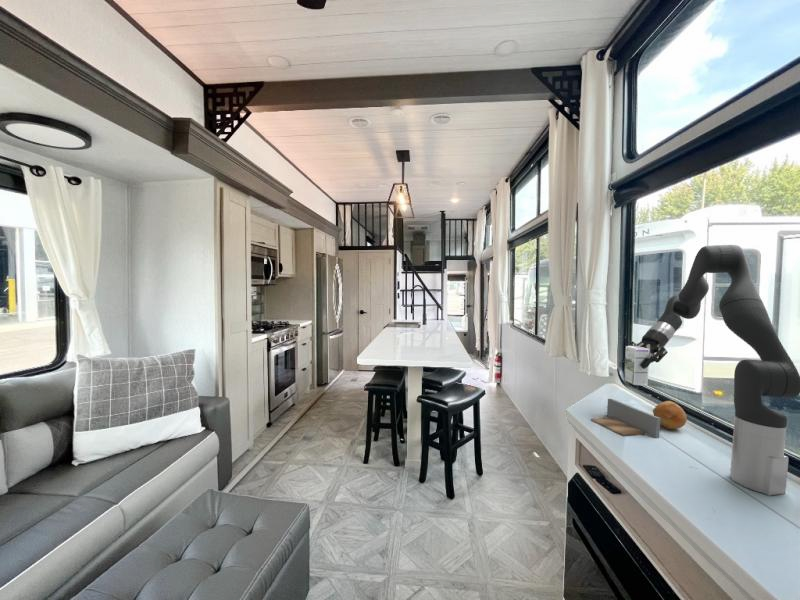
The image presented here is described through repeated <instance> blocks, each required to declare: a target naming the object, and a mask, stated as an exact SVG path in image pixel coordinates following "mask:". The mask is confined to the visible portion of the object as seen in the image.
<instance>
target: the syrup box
mask: <svg viewBox="0 0 800 600" xmlns="http://www.w3.org/2000/svg"><path fill="white" fill-rule="evenodd" d="M625 349H626V353H625V352H624V353H625V357H624V358H625V363H624V373H623V374H624V378H623V379H624V382H626V383H628V384H631V385H633V386H648V385H649V384H648V383H649V381H648V380H649V366H648V367H647V368H645V369H643V368H642V367H641V366H640V364H641V363H642V362H643V361H644V359H645V358H647V355H648V354H649V349H647V348H643V347H639V346H629V345H626V346H625Z"/></svg>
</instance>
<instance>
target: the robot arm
mask: <svg viewBox="0 0 800 600" xmlns="http://www.w3.org/2000/svg"><path fill="white" fill-rule="evenodd" d="M707 273H708V274H728V275H729V276H730V279H731V282H730V285H729V286H728V288H727V290H726V291H725V292H724V294H722V297H721V298H720V300H719V305H718V307H719V310H720V313H721V317H722V319H723V322H724V324H725V326H726V327H727V328H728V329H729V330H730V331H731V332H732V333H733V334H734V335H736V336H737V337H738V338H740V339H741V340H742V341H743V342H745V343H746V344H747V345H749V346H750V347H751V348H752V349H753V351H755V352H756V354H757V355H758V357H759V359H760V360H759V359H758V360H757V359H742V360H740V361H739V362H738V363H737V364H736V366H735V369H734V375H733V381H734V382H733V390H734V391H733V405H734V411H735V412H734V422H733V423H734V424H733V434H732V447H731V458H730V459H731V460H730V469H729V470H730V471H729V478H730V479H731V480H732V481H733V482H736V483H737V484H738V485H741V486H742V487H745V488H747V489H750V490H751V491H752V490H753V491H756V492H759V493H762V494H765V495H766V496H769V497H770V496H776V495H781V494H786V492H787V491H786V490H787V479H788V469H789V457H788V456H787V455H785V446H786V444H785V443H786V435H787V425H788V417H787V415H785V414H784V413H782V412H780V411H778V410H777V409H776V410H775V409H773V408H770V407H768V406H766V405H764V404H763V399H762V397H769V398H778V399H795V398H797V397H798V396H799V395H800V374H799V371H798V369H797V367H796V366H795V363H794V361H793V360H792V359H791V357H790V355H789V354H788V353H787V350H786V349H785V347H784V346H783V344H782V342H781V341H780V338H779V337H778V334H777V332H776V330H775V328H774V326H773V324H772V321H771V319H770V317H769V313H768V311H767V309H766V305H765V304H764V302H763V299H761V296H760V294H759V292H758V289H757V288H756V284H755V283H754V280H753V277H752V273H751V270H750V266H749V263H748V259H747V255H746V253H745V251H744V249H743V247H741V246H740V245H738V244H737V245H736V244H714V245H705V246H702V247H701V248H700V249H699V250H698V252H697V253H696V255H695V257H694V260H693V263H692V265H691V268H690V271H689V274H688V278H687V281H686V283H684V285H683V287H682V288H681V290H680V292H679V293H678V295H674V296H672V297H670V298H669V299H668V301H667V303H666V306H665V308H664V311H663V313H662V315H661V316H660V317H659V318H658V320H657V321H656V322H655V323H654V324H653V325H651V327H649V329H648V330H647V331H646V332H645V334H644V335H642V337H641V340H640V342H638V343H637V342H636V343H635V341H631V342H630V343H629V344H628V346H639V347H643V348H647V349H649V354H648V355H647V358H645V359H644V361H643V362H642V363H641V364H640V366H641V367H642V368H643V369H645V368H647V367H648V368H649V366H650V364H652V363H653V362H654V363H655V362H656V363H660V362H661V361H662V359H663V358H664V357H665V356H666V355H667V354H668V351H667V349H666V348H665V346H666V345H667V344H668V343H669V342H670V340H671V339H672V338H673V337H674V334H676V332H677V331H678V330H679V328H681V326H682V325H683V320H682V318H683V319H686V320H691V319H694V318H696V317H697V316H698V315H699V313H700V311H701V304H702V300H703V299H704V298H705V297H706V295H707V294H708V292H709V288H710V286H709V283H708V281H707V279H706V278H705V276H704V275H705V274H707ZM624 353H626V348H625V350H624ZM622 362H623V363H624V364H625V357H624V358H623V360H622Z"/></svg>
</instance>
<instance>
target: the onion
mask: <svg viewBox="0 0 800 600" xmlns="http://www.w3.org/2000/svg"><path fill="white" fill-rule="evenodd" d="M652 415H654V416H657V417H659V418H661V419H660V426H662V427H664V428H666V429H668V430H677V429H680V428H682V427H684V426H685V425H686V424H687V421H688V420H687V419H688V418H687V414H686V412H685V411H684V409H683V408H682V407H681V406H680V405H679V404H677V403H676V402H673V401H672V400H665V401H662V402H660V403H658V404H657V405H656V406H655V407H654V408H653V409H652Z"/></svg>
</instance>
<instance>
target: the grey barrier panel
mask: <svg viewBox="0 0 800 600" xmlns="http://www.w3.org/2000/svg"><path fill="white" fill-rule="evenodd" d="M606 417H612V418H615V419H617V420H619V421H621V422H623V423H626V424H628V425H630V426H632V427H634V428H637V429H639V430H641V431H643V432H645V433H646V434H645V435H648V436H650V437H653V438H654V439H659V438H660V431H661V430H660V428H661V425H660V419H661V418H659V417H657V416H654V414H653V413H652V414H651V413H649V412H646V411H645V410H644V411H643V410H641V409H638V408H636V407H634V406H631V405H628V404H625V403H623V402H621V401H618V400H615V399H612V398H607V409H606Z"/></svg>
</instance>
